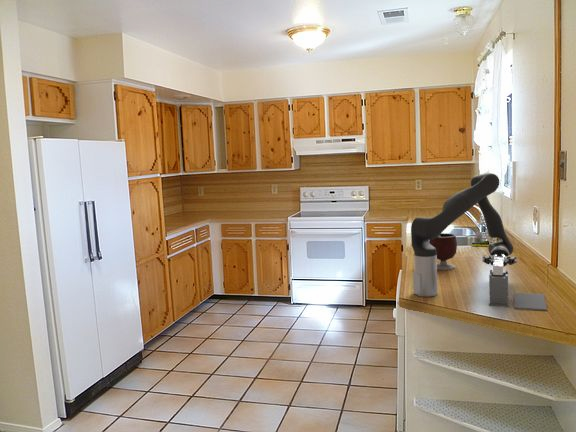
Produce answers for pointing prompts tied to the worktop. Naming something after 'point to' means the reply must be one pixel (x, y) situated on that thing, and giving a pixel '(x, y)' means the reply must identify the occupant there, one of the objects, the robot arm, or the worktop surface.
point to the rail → (498, 266)
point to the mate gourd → (445, 249)
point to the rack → (498, 289)
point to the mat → (529, 301)
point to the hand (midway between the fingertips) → (498, 263)
